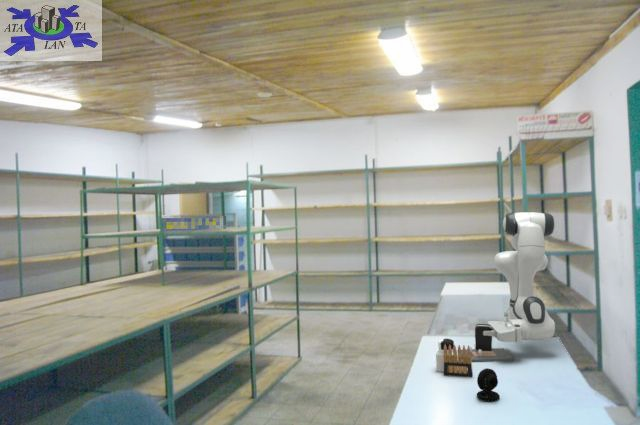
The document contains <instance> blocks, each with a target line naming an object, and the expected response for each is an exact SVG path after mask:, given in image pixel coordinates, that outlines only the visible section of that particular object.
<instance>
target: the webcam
mask: <svg viewBox="0 0 640 425" xmlns="http://www.w3.org/2000/svg"><path fill="white" fill-rule="evenodd" d="M476 383H477V387H478V388H479V389H480V390H479V391H478V392H477V393H476V398H477V399H478V400H480V401H483V402H489V403H490V402H491V403H492V402H496V401H499V400H500V394H499V393H498V392H496V391H493V390H494V389H495V388H497V386H498V384H499V379H498V375H497V372H495V370H494V369H491V368H484V369H482V370H481V371H480V372H479V373H478V375H477V379H476ZM484 395H486V396H484Z"/></svg>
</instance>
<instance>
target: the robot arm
mask: <svg viewBox="0 0 640 425" xmlns="http://www.w3.org/2000/svg"><path fill="white" fill-rule="evenodd" d="M502 228H503V229H504V232H505V233H506V234H507V235H510V236H511V239H510V243H511V246H512V248H513V249H514V250H506V251H501V252H498V253H496V255H495V256H494V259H493V265H494V268H495V269H496V270H497V272H499V273H501V274H502V275H503V276H504V277H505V279H506V281H507V283H508V286H509V291H510V292H509V293H510V295H509V296H510V298H509V307H508V308H507V310H506V312H503V319H502V320H488V321H487V322H486V324H489V325H490V326H491V328H492V331H487V330H485V331H482V332H483V335H484V336H487V335H488V336H492V337H494V338H496V340H497V341H499V342H504V343H516V344H521V343H522V341H527V340H531V341H540V340H541V341H543V340H548V339H552V338H553V336H554V335H555V333H556V323H555V321H554V319H552V318H551V316H550V314H549V313H548V311H547V308H546V305H545V303H544V301H543V300H542V299H541V298H539V297H538V296H535V295H534V294H535V293H534V292H535V291H534V278H535V276H536V274H537V272H540V271H544V270H545V269H546V268H547V266H548V264H549V263H548V262H549V259H548V256H547V255H546V242H545V237H548V236H551V235H552V234H553V233H554V231H555V228H556V222H555V219H554V216H553V215H552V214H551V213H548V212H533V211H528V212H527V211H524V212H521V211H520V212H507V213H506V214H505V216H504V218H503V220H502ZM504 317H505V318H504Z"/></svg>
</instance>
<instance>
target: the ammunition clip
mask: <svg viewBox="0 0 640 425" xmlns="http://www.w3.org/2000/svg"><path fill="white" fill-rule="evenodd" d="M470 347H471V346H470V345H469V344H468V345H467V356H466V346H465V345H463V346H462V347H461V345H460V344H458V347H456V344H454V347H453V356H452V349H451V345H449V354H447V347H446V344H445V345H444V372H443V376H448V377H449V376H450V377H461V378H462V377H463V378H473V376H474V375H473V374H474V373H473V365H472V363H473V362H472V360H471V352H470ZM461 348H462V349H461ZM456 350H458V351H457V352H456ZM461 350H463V355H461ZM448 366H449V368H448ZM453 369H454V371H453Z"/></svg>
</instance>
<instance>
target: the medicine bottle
mask: <svg viewBox="0 0 640 425" xmlns="http://www.w3.org/2000/svg"><path fill="white" fill-rule="evenodd" d="M437 342H438V350H437V352H436V354H435V363H436V372H440V373H444V345H445V344H446V347H447V354H449V345H451V349H452V356H453V347H454V345H455V343H454V342H455V341H454V340H453V339H451V338H441V339H439V340H438V341H437ZM457 350H458V349H456V352H457V353H458V351H457ZM448 368H449V366H448ZM453 371H454V369H453Z"/></svg>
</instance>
